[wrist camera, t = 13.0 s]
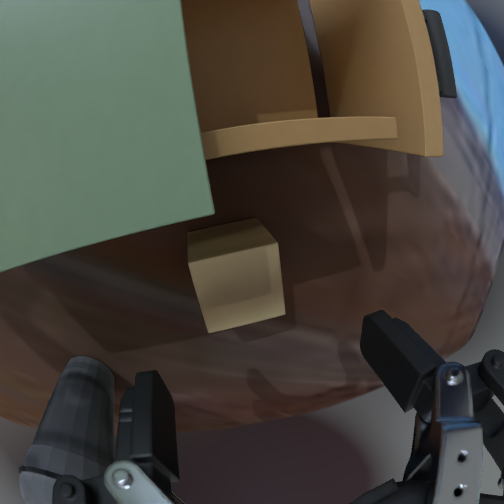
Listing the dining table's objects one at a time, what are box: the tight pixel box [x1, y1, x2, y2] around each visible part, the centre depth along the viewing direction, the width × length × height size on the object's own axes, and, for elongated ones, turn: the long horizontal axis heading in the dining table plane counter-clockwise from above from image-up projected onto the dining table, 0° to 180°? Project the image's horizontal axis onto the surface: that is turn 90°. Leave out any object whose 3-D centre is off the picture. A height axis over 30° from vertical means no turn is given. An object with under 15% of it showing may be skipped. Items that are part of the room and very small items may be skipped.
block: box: [187, 218, 285, 333], centre depth 16 cm, size 4×4×4 cm
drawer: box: [181, 0, 457, 160], centre depth 9 cm, size 18×11×8 cm, turn 98°
